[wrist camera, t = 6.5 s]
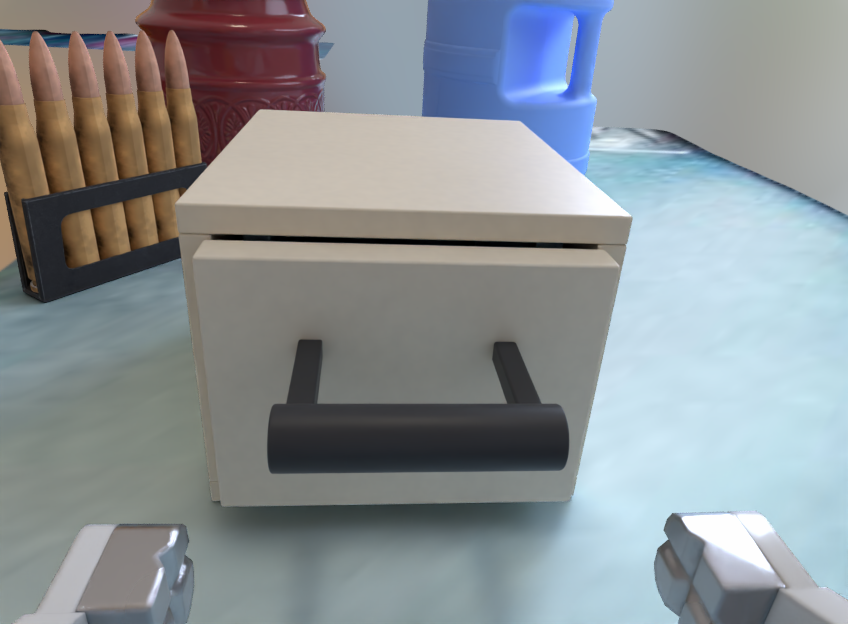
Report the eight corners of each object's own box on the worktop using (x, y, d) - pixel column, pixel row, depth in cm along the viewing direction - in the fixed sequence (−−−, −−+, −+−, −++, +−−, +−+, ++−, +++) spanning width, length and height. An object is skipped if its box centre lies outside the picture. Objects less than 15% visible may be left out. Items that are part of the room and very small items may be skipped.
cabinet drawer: (621, 629, 15) (703, 354, 12) (181, 645, 14) (128, 350, 11) (496, 314, 30) (515, 151, 27) (276, 311, 29) (266, 141, 26)
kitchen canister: (358, 196, 49) (360, -65, 41) (193, 221, 42) (158, -90, 34) (283, 159, 58) (273, -61, 50) (136, 175, 51) (98, -80, 43)
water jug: (384, 171, 57) (395, -225, 44) (466, 144, 69) (493, -172, 56) (547, 206, 50) (615, -252, 37) (606, 170, 62) (673, -185, 49)
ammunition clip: (198, 237, 40) (175, 28, 34) (218, 244, 39) (198, 31, 33) (22, 292, 31) (-45, 30, 26) (43, 303, 31) (-22, 34, 25)
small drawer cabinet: (573, 496, 21) (634, 216, 16) (211, 502, 20) (173, 202, 15) (497, 310, 33) (520, 120, 28) (270, 306, 32) (258, 109, 27)
